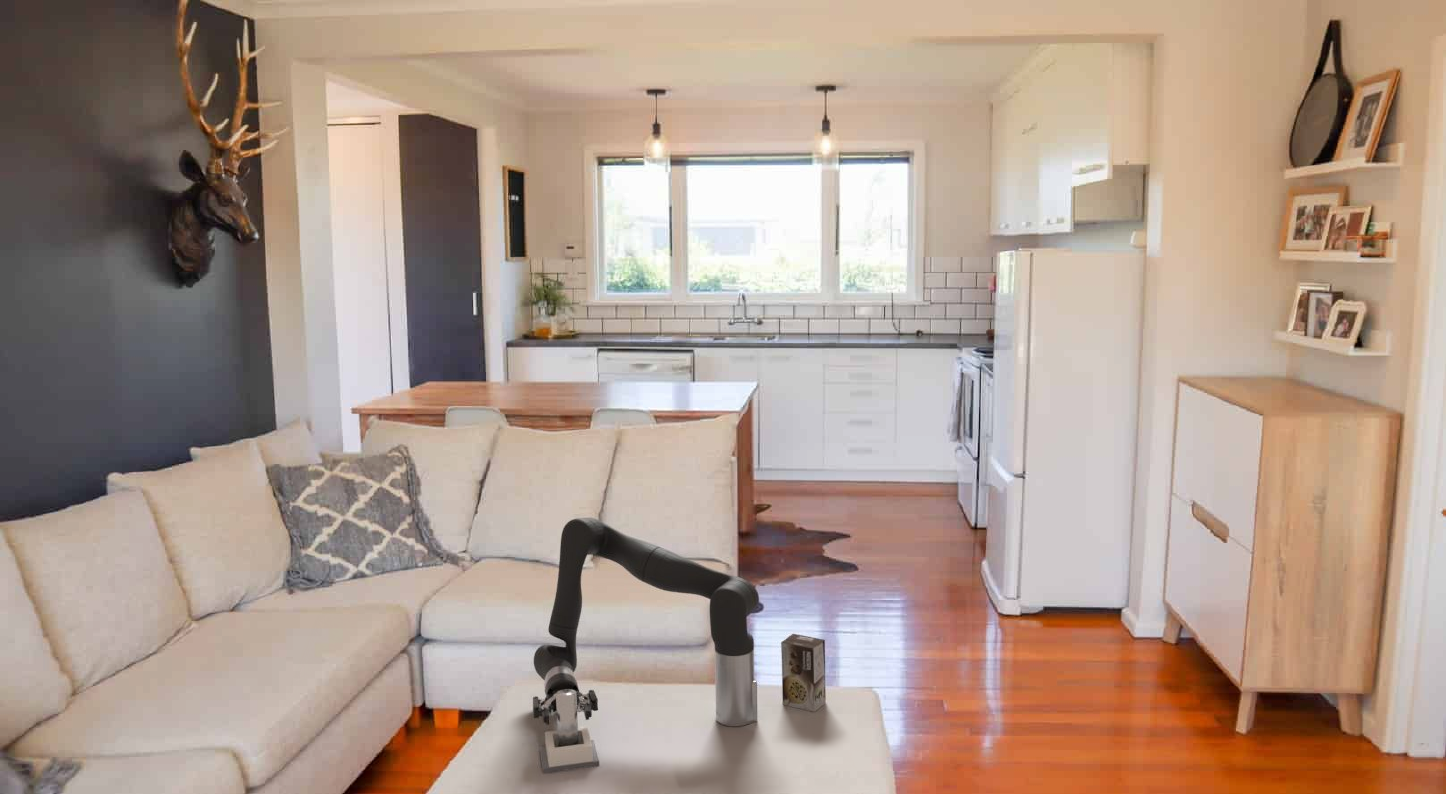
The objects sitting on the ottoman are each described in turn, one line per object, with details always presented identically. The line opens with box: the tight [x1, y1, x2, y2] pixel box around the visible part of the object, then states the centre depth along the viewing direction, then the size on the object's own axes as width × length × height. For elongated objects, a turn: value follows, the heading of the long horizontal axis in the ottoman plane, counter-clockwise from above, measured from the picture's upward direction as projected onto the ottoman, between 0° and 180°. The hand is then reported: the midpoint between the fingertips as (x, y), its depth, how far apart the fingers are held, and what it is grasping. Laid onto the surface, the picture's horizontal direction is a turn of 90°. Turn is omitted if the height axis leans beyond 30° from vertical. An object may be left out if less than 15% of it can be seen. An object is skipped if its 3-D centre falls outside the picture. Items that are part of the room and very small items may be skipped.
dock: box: [539, 726, 600, 774], centre depth 225 cm, size 12×10×4 cm
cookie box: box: [780, 633, 827, 713], centre depth 249 cm, size 9×6×16 cm
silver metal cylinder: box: [556, 689, 579, 747], centre depth 224 cm, size 4×4×14 cm
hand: (567, 718), depth 222 cm, fingers open, 8 cm apart
